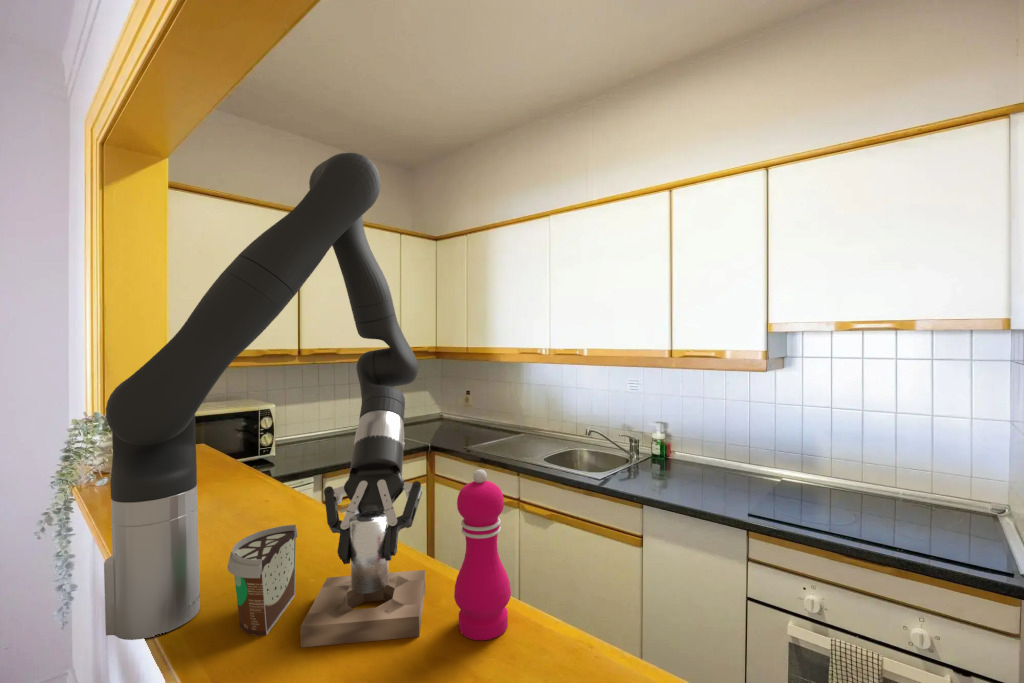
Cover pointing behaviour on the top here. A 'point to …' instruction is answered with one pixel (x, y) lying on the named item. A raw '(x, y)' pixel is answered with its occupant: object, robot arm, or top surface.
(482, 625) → the pepper mill
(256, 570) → the food container
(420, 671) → the top surface
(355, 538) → the bushing
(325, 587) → the frame
